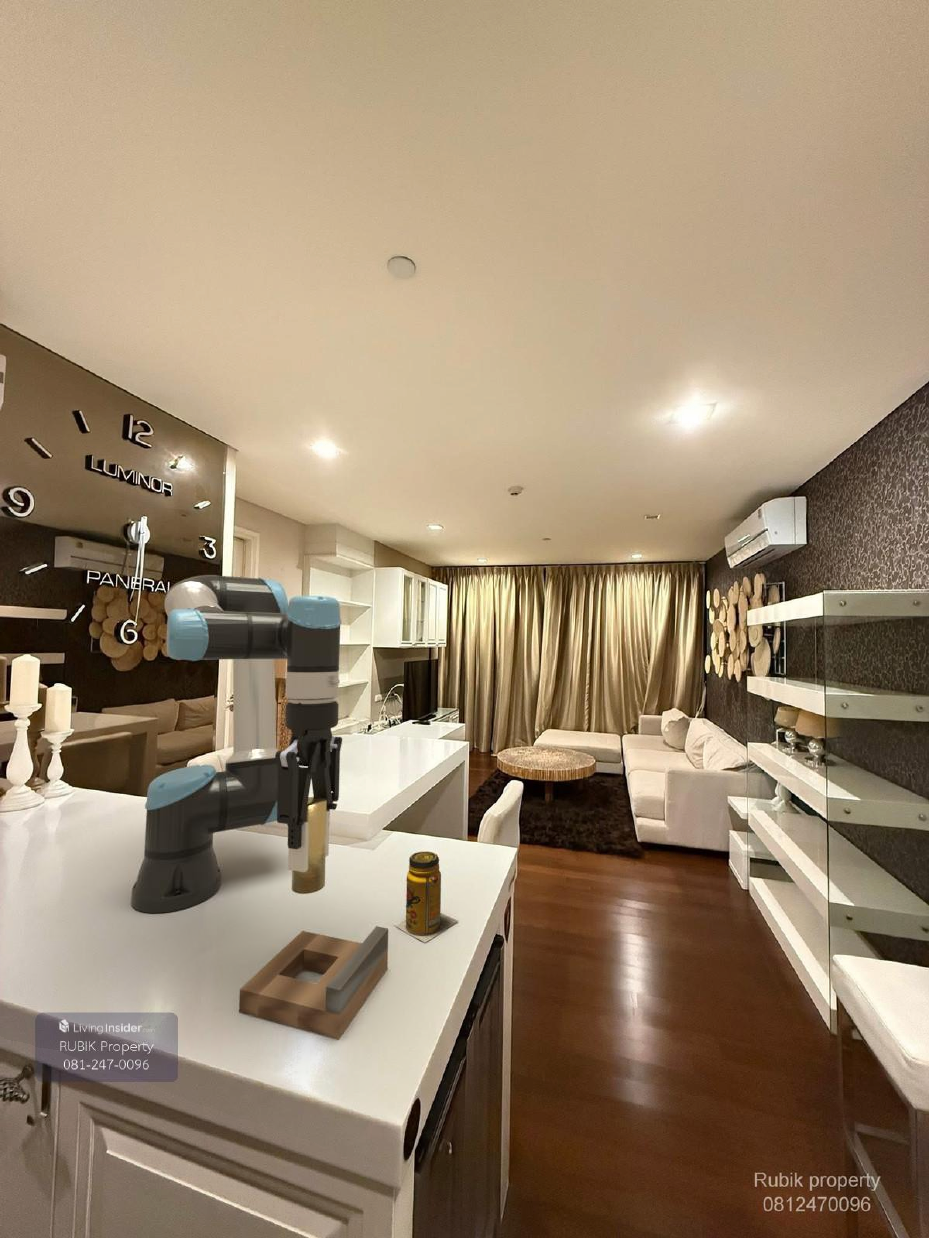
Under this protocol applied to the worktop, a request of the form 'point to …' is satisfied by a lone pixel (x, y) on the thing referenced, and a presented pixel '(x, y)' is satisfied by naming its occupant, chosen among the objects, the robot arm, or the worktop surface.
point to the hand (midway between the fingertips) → (308, 861)
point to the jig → (332, 996)
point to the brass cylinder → (313, 849)
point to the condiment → (424, 898)
